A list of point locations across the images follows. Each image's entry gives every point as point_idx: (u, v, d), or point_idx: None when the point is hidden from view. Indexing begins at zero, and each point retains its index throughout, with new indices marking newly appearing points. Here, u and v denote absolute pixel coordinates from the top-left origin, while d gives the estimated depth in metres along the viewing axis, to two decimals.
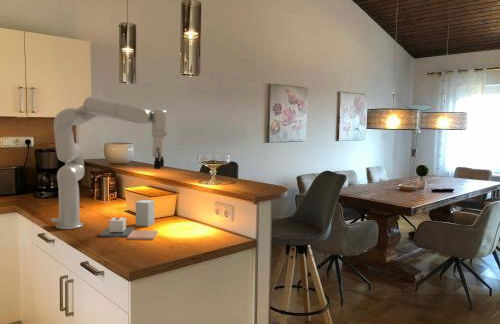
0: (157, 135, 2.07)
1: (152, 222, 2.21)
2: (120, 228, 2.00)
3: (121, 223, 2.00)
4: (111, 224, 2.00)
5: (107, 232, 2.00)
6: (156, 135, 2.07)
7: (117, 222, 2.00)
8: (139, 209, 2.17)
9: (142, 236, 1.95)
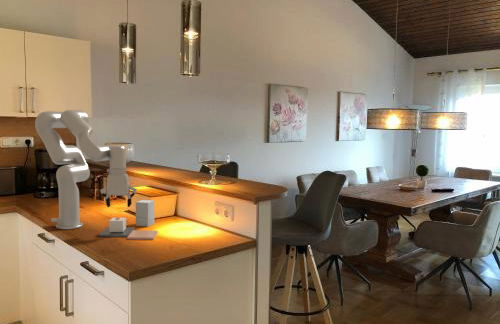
0: (125, 172, 2.00)
1: (152, 222, 2.21)
2: (120, 228, 2.00)
3: (121, 223, 2.00)
4: (111, 224, 2.00)
5: (107, 232, 2.00)
6: (125, 172, 2.00)
7: (117, 222, 2.00)
8: (139, 209, 2.17)
9: (142, 236, 1.95)
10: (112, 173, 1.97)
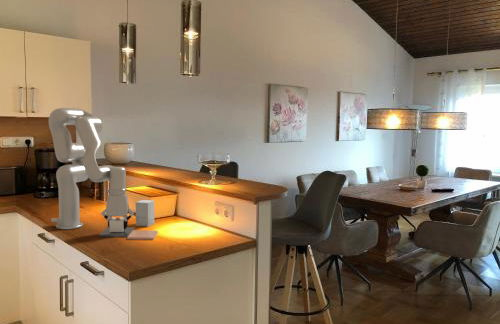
0: (125, 193, 2.01)
1: (152, 222, 2.21)
2: (120, 228, 2.00)
3: (121, 223, 2.00)
4: (111, 224, 2.00)
5: (107, 232, 2.00)
6: (124, 193, 2.01)
7: (117, 222, 2.00)
8: (139, 209, 2.17)
9: (142, 236, 1.95)
10: (112, 194, 1.98)
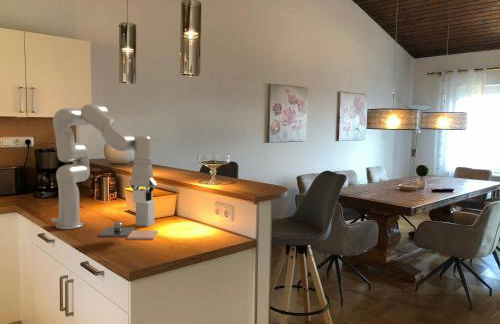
0: (148, 163, 1.94)
1: (152, 222, 2.21)
2: (141, 199, 1.94)
3: (142, 193, 1.93)
4: (134, 194, 1.95)
5: (107, 232, 2.00)
6: (147, 163, 1.94)
7: (139, 192, 1.94)
8: (139, 209, 2.17)
9: (142, 236, 1.95)
10: (135, 163, 1.94)
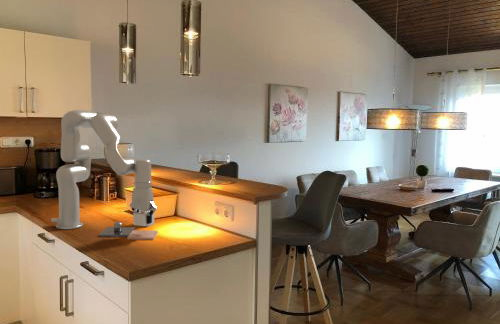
0: (148, 187, 1.95)
1: None
2: (142, 222, 1.95)
3: (142, 217, 1.94)
4: (135, 217, 1.96)
5: (107, 232, 2.00)
6: (147, 187, 1.95)
7: (139, 215, 1.95)
8: None
9: (142, 236, 1.95)
10: (135, 187, 1.95)
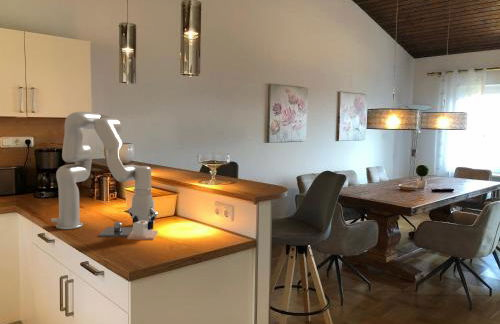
0: (148, 194, 1.95)
1: None
2: (141, 232, 1.95)
3: (142, 227, 1.95)
4: (134, 227, 1.97)
5: (107, 232, 2.00)
6: (147, 194, 1.95)
7: (139, 225, 1.96)
8: None
9: (142, 236, 1.95)
10: (135, 194, 1.95)
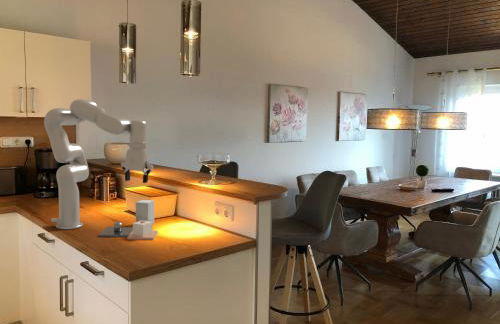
0: (144, 148, 1.97)
1: (152, 222, 2.21)
2: (141, 232, 1.95)
3: (142, 227, 1.95)
4: (134, 227, 1.97)
5: (107, 232, 2.00)
6: (143, 148, 1.97)
7: (139, 225, 1.96)
8: (139, 209, 2.17)
9: (142, 236, 1.95)
10: (130, 147, 1.96)
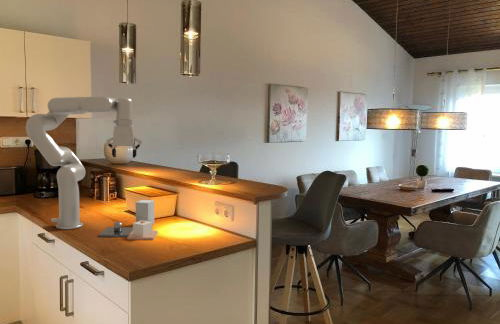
0: (131, 124, 2.07)
1: (152, 222, 2.21)
2: (141, 232, 1.95)
3: (142, 227, 1.95)
4: (134, 227, 1.97)
5: (107, 232, 2.00)
6: (131, 124, 2.07)
7: (139, 225, 1.96)
8: (139, 209, 2.17)
9: (142, 236, 1.95)
10: (118, 124, 2.04)
